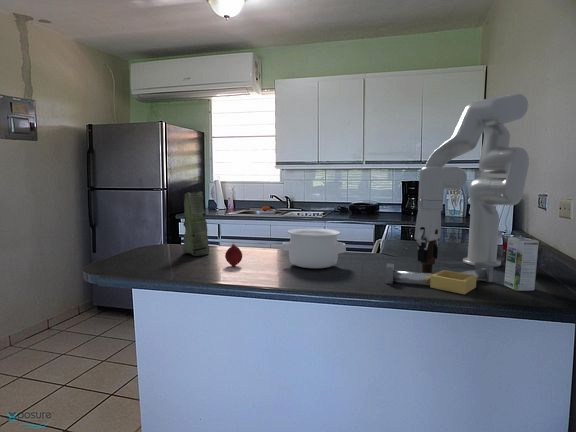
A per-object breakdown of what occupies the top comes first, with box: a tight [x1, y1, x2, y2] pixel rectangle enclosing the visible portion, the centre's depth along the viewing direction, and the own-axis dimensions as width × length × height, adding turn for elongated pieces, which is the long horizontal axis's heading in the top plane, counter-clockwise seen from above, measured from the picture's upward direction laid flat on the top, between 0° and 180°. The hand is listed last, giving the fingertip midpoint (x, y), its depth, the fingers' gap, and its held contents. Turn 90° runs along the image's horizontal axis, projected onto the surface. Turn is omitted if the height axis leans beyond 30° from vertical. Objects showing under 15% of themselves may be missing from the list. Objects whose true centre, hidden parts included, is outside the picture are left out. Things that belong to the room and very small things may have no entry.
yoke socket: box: [429, 269, 477, 295], centre depth 113 cm, size 10×10×4 cm
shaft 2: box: [459, 262, 495, 283], centre depth 119 cm, size 12×5×5 cm, turn 118°
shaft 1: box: [385, 263, 434, 285], centre depth 117 cm, size 14×5×5 cm, turn 73°
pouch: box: [182, 190, 210, 257], centre depth 155 cm, size 11×12×25 cm
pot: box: [281, 227, 347, 269], centre depth 137 cm, size 22×17×12 cm
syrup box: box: [503, 236, 539, 292], centre depth 113 cm, size 6×6×14 cm
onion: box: [224, 242, 243, 267], centre depth 135 cm, size 6×6×8 cm
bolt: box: [420, 229, 438, 274], centre depth 128 cm, size 6×5×15 cm
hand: (427, 259), depth 128 cm, fingers open, 6 cm apart
